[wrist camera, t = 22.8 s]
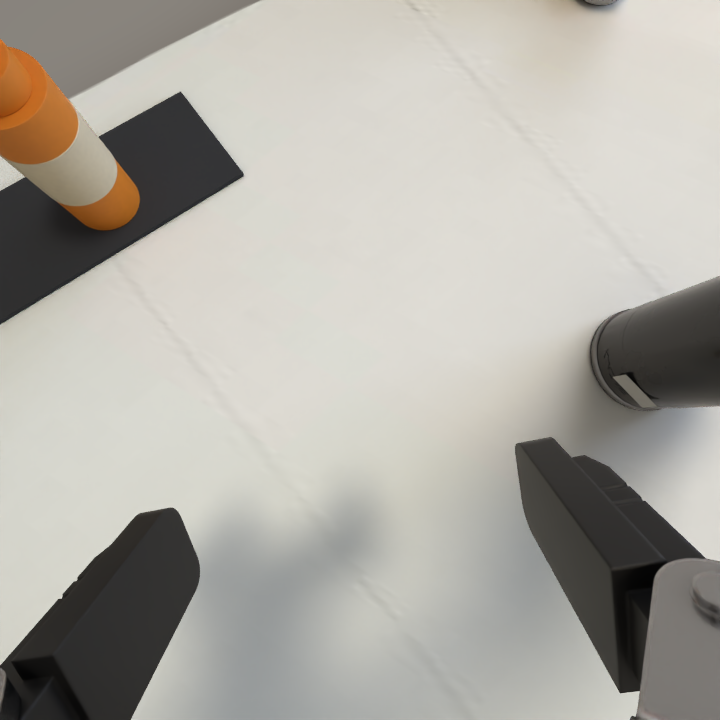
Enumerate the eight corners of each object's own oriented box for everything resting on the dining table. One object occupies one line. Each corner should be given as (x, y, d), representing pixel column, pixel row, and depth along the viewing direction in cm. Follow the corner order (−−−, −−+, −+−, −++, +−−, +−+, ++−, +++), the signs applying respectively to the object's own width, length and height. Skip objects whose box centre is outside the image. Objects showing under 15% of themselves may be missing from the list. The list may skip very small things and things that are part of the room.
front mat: (182, 94, 38) (180, 91, 37) (244, 175, 37) (243, 173, 37) (-88, 244, 34) (-93, 242, 33) (-25, 338, 33) (-29, 337, 32)
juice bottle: (129, 163, 36) (-58, -87, 18) (148, 219, 35) (-26, 16, 18) (63, 181, 35) (-197, -61, 18) (82, 239, 34) (-170, 48, 17)
